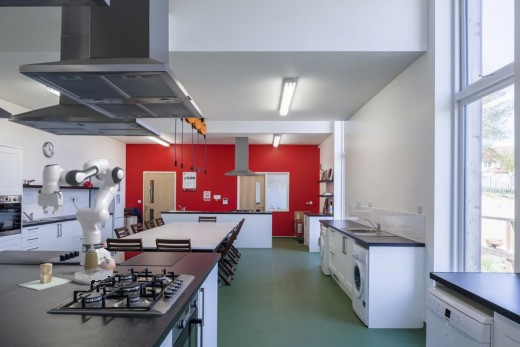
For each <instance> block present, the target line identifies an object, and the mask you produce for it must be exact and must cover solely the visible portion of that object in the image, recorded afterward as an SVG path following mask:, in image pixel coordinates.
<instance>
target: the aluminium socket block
mask: <svg viewBox="0 0 520 347" xmlns="http://www.w3.org/2000/svg"><path fill="white" fill-rule="evenodd" d="M108 276H113V277H114V270H109V269H103V268H100V267H98V268H93V269H88V270H85V269H84V270H80V271H77V272H74V282H75V283H79V284H83V285H90V284H91V281H92V280H95V281H98V280H104V279H106V278H108ZM95 284H97V283H96V282H95ZM95 284H94V285H95ZM90 286H91V285H90Z"/></svg>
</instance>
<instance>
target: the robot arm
mask: <svg viewBox="0 0 520 347" xmlns="http://www.w3.org/2000/svg"><path fill="white" fill-rule="evenodd" d="M92 177H95V178H96V179H97V180H99V181H104V184H103V185H102V186H101V187H100V189H99V190H98V192H97V193H96V195H95V196H94V199H93V200H94V202H95V203H94V206H93V207H82V208H79V209H78V210H77V211H76V213H75V218H76V221H78V222H79V224H80V226H81V230H82V237H83V238H82V246H81V249H82V255H81V260H80V263H79V265H80V266H83V267H84V263H85V255H86V253H88V252H87V250H88V249H89V248H90V244H91V243H93V247H94V249H96V253H97V256H98V266H100V263H101V262H102V261H103V260H105V259H107V258H108V259H110V260H113V261H114V262H115V259H114V258H112V255H111V252H110V251H109V250H107V249H105V248H104V247H106V242H102V240H101V239H102V232H101V230H100V229H99V228H98V226H97V224H98V225H99V224H103V223H104V224H105V223H107V222H108V221H109V219H110V212H109V206H110V204H112V201H113V199H114V198H115V196H116V194H117V192H118V190H119V184H120V183H121V182H122V180H123V179H124V178H125V171H124V169H123V168H121V167H120V166H114V165H113V166H111V165H110V162H109V161H108V160H107V159H106V158H103V157H100V158H95V159H89V160H88V161H86V162H84V163H83V165H82V170H80V169H69V170H68V169H67V170H66V169H63V168H62V167H61V166H60V165H59V164H57V163H54V164H51V163H50V164H46V165H44V167H43V170H42V188H40V189H37V194H38V195H37V205H38V206H39V207H42V211H43V214H44V215H46V214H48V213H49V210H48V207H53V210H52V215H57V214H58V210H60V209H59V208H60V207H63V206H64V196H63V194H62V192H61V191H60V186H63V187H64V186H66V187H67V186H68V187H69V186H72V187H78V186H80V185H81V184H83V182H85V181H86V180H88V179H90V178H92Z"/></svg>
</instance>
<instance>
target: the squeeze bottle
mask: <svg viewBox="0 0 520 347" xmlns="http://www.w3.org/2000/svg"><path fill="white" fill-rule="evenodd" d="M87 252H88V253H86V255H85V263H84V266H83V269H84V270H88V269H93V268H99V265H98V256H97V253H96V249H94V247H93V243H91V244H90V248H89V249H88V250H87Z"/></svg>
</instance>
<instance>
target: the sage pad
mask: <svg viewBox="0 0 520 347" xmlns="http://www.w3.org/2000/svg"><path fill="white" fill-rule="evenodd" d="M72 282H73V281H72V280H70V279H64V278H60V277H55V276H52V282H50V283H46V284H42V283H40V279H38V280H34V281H29V282H24V283H19V284H18V286H19V287H23V288H28V289H31V290H36V291H41V290H44V289H49V288H53V287H56V286H57V287H58V286H60V285H64V284H69V283H72Z"/></svg>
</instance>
